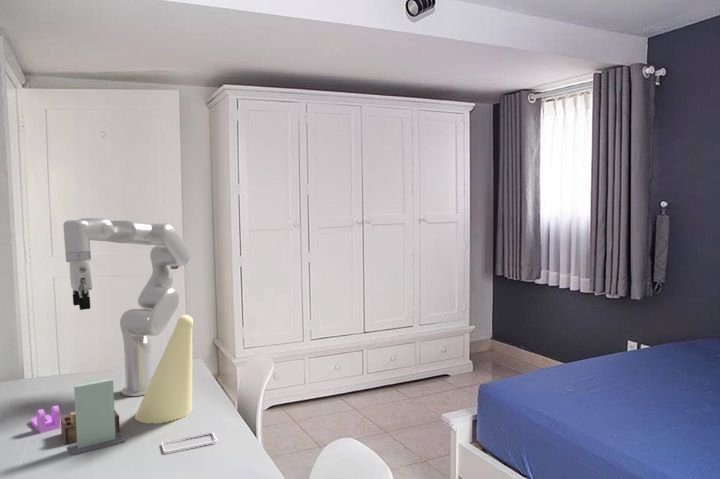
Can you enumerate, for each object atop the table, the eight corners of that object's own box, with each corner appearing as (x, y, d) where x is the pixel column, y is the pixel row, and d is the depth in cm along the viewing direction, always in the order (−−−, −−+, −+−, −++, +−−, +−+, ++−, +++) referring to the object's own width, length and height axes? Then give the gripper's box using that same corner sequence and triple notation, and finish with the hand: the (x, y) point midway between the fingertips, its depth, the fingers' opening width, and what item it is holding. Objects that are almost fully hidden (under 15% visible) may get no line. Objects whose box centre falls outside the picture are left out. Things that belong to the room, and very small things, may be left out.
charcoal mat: (119, 434, 167) (119, 432, 167) (124, 442, 161) (124, 440, 161) (68, 446, 159) (68, 444, 159) (72, 455, 153) (72, 453, 153)
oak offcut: (89, 434, 168) (88, 408, 167) (90, 436, 165) (89, 411, 165) (71, 438, 165) (70, 412, 164) (72, 441, 163) (71, 415, 162)
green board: (113, 436, 164) (111, 378, 163) (115, 439, 162) (113, 380, 161) (77, 445, 158) (74, 384, 157) (78, 448, 156) (75, 387, 155)
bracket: (60, 428, 173) (59, 406, 172) (40, 433, 169) (39, 411, 168) (48, 417, 182) (47, 397, 181) (29, 422, 178) (28, 401, 177)
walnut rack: (113, 421, 177) (112, 407, 176) (119, 431, 169) (119, 415, 169) (61, 433, 168) (60, 418, 168) (65, 444, 160) (64, 427, 160)
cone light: (123, 415, 182) (119, 313, 180) (170, 399, 197) (167, 304, 195) (168, 432, 168) (164, 321, 166) (215, 413, 183) (212, 311, 181)
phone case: (164, 456, 153) (217, 444, 159) (163, 451, 153) (217, 440, 159) (161, 446, 159) (212, 435, 166) (161, 441, 159) (212, 431, 166)
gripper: (96, 257, 177) (100, 309, 178) (84, 253, 190) (88, 301, 192) (71, 259, 172) (74, 312, 173) (60, 255, 185) (64, 304, 187)
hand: (81, 307), depth 182 cm, fingers open, 9 cm apart
